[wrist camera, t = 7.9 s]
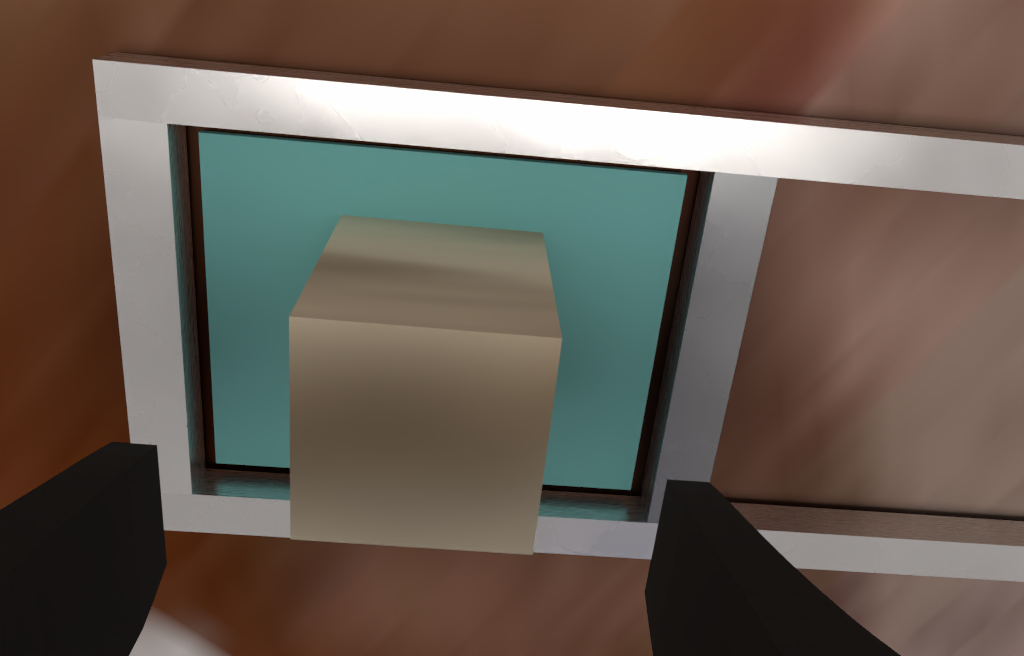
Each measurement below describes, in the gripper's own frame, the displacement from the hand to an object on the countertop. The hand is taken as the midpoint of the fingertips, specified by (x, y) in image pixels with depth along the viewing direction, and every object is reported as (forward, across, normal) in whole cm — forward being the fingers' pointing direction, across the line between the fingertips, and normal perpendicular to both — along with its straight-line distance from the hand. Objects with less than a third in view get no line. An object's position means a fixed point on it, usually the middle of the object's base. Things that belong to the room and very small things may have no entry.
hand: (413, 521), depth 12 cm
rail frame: (+7, -6, 0) cm, 9 cm away
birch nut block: (+6, 0, 0) cm, 7 cm away
